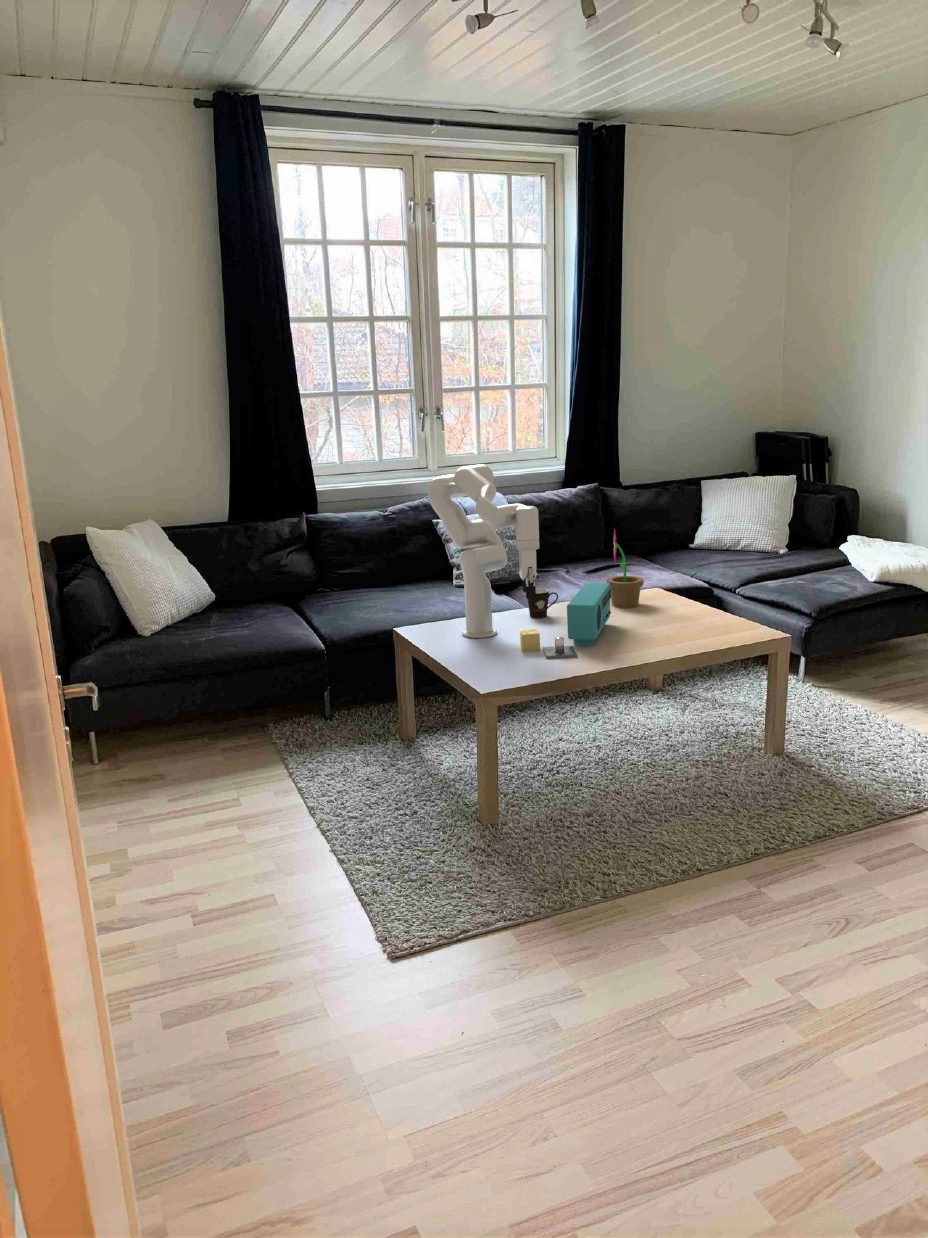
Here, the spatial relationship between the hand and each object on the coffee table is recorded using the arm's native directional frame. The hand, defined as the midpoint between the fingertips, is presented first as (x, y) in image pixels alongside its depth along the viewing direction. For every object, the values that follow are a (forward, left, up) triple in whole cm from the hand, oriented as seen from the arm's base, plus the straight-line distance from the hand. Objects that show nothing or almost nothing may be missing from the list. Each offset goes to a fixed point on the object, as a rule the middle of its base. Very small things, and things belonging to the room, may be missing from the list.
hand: (529, 594), depth 317 cm
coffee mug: (-42, +9, -19) cm, 47 cm away
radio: (-14, +23, -19) cm, 33 cm away
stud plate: (+7, +9, -19) cm, 22 cm away
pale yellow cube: (0, 0, -19) cm, 19 cm away
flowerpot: (-53, +43, -19) cm, 71 cm away
